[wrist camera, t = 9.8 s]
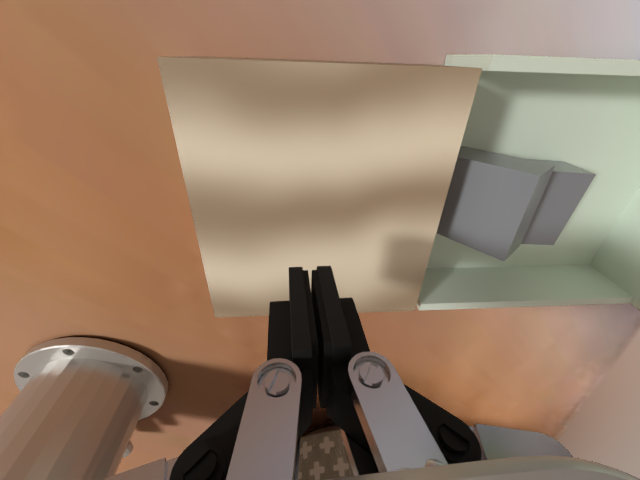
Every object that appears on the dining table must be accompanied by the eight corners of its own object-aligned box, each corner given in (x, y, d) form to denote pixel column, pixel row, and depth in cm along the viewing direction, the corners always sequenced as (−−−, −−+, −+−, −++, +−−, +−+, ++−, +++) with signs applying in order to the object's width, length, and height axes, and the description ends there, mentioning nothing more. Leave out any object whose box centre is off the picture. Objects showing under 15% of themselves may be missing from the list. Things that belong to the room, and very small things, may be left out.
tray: (586, 266, 25) (658, 318, 20) (399, 270, 24) (427, 327, 19) (714, 64, 18) (885, 68, 12) (446, 54, 16) (515, 54, 11)
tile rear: (484, 242, 19) (466, 224, 22) (553, 245, 20) (528, 226, 22) (518, 169, 17) (493, 156, 19) (596, 174, 17) (563, 161, 19)
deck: (393, 265, 24) (414, 310, 20) (229, 268, 23) (215, 317, 19) (433, 64, 16) (482, 68, 12) (194, 56, 15) (156, 56, 11)
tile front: (424, 228, 20) (443, 216, 21) (504, 261, 17) (520, 245, 18) (441, 153, 17) (462, 145, 18) (540, 175, 14) (555, 165, 15)
